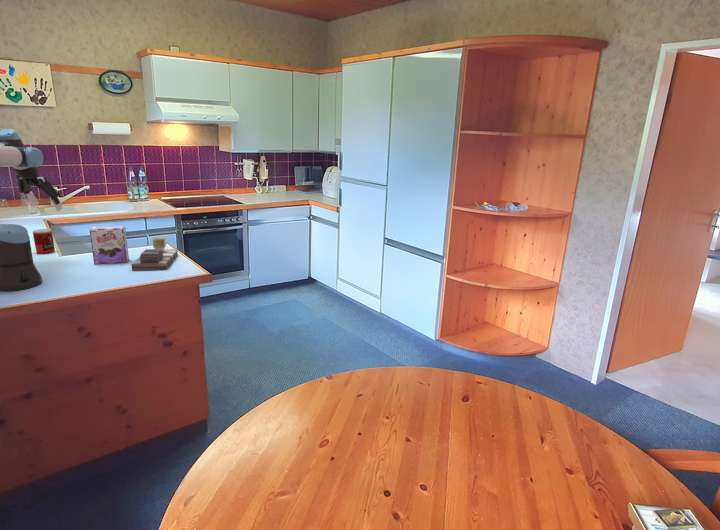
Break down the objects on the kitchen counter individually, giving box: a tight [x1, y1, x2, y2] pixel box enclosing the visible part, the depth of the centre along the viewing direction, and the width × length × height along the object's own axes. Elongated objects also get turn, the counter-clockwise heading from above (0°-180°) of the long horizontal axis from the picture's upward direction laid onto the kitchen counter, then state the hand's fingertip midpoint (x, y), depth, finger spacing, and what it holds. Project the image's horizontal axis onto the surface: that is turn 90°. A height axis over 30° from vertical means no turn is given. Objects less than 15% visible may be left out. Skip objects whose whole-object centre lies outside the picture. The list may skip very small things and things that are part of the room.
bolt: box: [152, 237, 167, 252], centre depth 216 cm, size 10×5×6 cm, turn 11°
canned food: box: [32, 228, 56, 255], centre depth 223 cm, size 8×8×11 cm
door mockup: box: [131, 248, 179, 272], centre depth 211 cm, size 26×14×7 cm, turn 11°
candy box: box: [89, 225, 130, 265], centre depth 209 cm, size 14×6×16 cm, turn 105°
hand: (48, 207), depth 207 cm, fingers open, 13 cm apart
